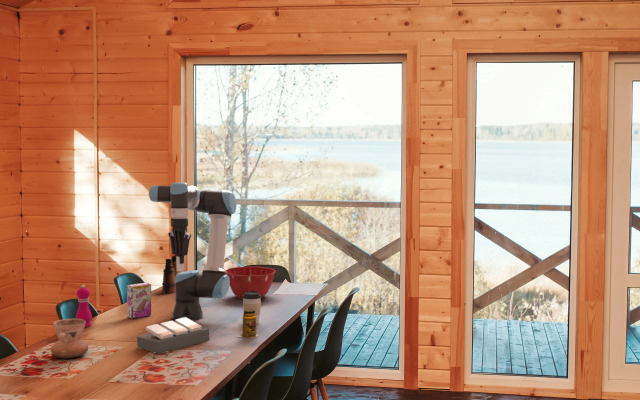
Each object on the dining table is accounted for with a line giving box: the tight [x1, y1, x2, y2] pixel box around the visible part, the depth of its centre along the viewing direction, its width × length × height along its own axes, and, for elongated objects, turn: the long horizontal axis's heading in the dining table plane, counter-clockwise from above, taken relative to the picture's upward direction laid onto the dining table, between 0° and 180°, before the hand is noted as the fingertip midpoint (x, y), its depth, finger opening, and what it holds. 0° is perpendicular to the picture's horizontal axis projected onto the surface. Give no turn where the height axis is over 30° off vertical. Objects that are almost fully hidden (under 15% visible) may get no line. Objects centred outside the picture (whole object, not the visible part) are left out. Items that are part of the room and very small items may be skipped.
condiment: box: [236, 309, 260, 339], centre depth 328 cm, size 7×8×12 cm
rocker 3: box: [174, 317, 203, 332], centre depth 321 cm, size 11×6×2 cm, turn 51°
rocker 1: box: [144, 323, 173, 340], centre depth 308 cm, size 11×6×2 cm, turn 51°
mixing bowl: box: [224, 266, 276, 300], centre depth 412 cm, size 28×28×16 cm
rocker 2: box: [160, 320, 188, 336], centre depth 314 cm, size 11×6×2 cm, turn 51°
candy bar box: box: [126, 282, 152, 320], centre depth 365 cm, size 11×5×16 cm, turn 135°
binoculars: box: [161, 255, 181, 295], centre depth 430 cm, size 18×8×20 cm, turn 171°
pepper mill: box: [75, 284, 93, 329], centre depth 344 cm, size 7×7×20 cm
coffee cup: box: [242, 291, 262, 325], centre depth 353 cm, size 9×9×15 cm
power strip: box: [136, 326, 210, 355], centre depth 316 cm, size 14×31×6 cm, turn 141°
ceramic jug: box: [50, 318, 89, 359], centre depth 297 cm, size 18×14×14 cm
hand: (180, 270), depth 322 cm, fingers closed
